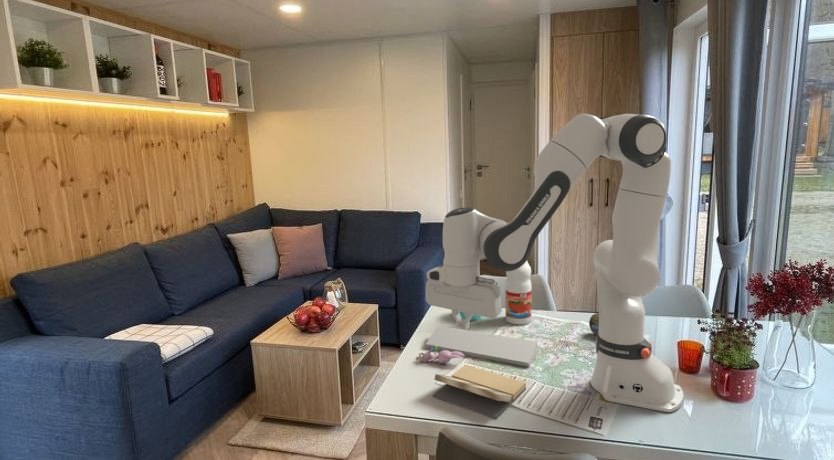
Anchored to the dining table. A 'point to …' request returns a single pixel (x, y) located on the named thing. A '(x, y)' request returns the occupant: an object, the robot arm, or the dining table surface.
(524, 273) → the fruit juice
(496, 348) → the decorative molding
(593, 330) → the tin
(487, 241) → the robot arm
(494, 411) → the laid floor
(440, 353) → the rabbit figure
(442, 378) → the ash plank
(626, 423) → the dining table surface
